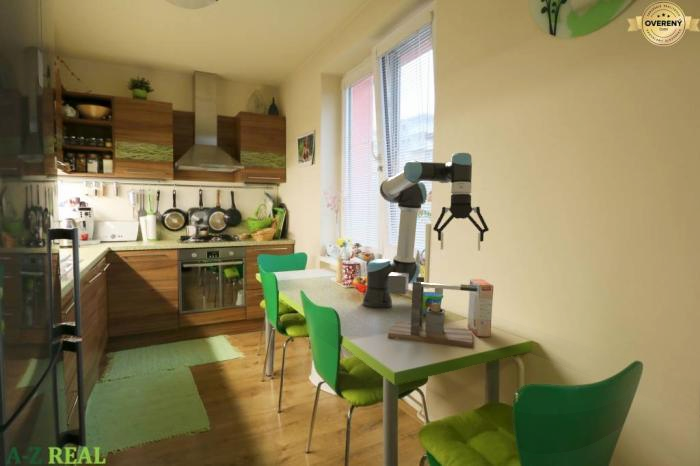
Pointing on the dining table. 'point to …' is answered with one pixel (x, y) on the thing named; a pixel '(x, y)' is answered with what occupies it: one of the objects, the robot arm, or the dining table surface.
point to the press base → (432, 338)
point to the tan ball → (435, 307)
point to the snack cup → (430, 300)
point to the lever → (400, 285)
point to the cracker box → (480, 308)
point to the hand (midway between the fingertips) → (460, 249)
